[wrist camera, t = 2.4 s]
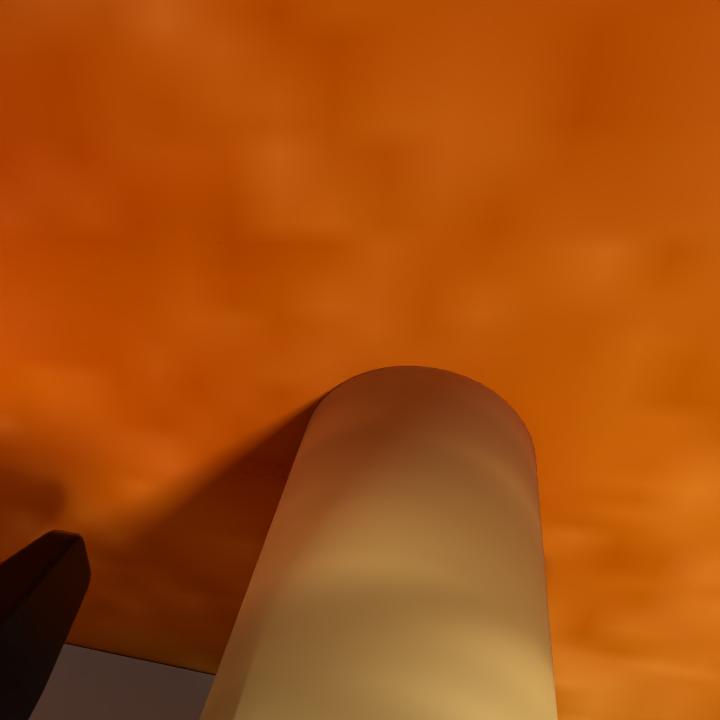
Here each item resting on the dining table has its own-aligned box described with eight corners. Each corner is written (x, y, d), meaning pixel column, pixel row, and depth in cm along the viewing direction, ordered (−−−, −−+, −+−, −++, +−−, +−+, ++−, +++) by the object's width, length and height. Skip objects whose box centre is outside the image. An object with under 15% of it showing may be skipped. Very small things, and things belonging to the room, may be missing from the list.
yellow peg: (562, 389, 10) (693, 1236, 4) (508, 559, 12) (526, 1275, 6) (309, 347, 11) (5, 1050, 4) (299, 520, 13) (97, 1154, 6)
